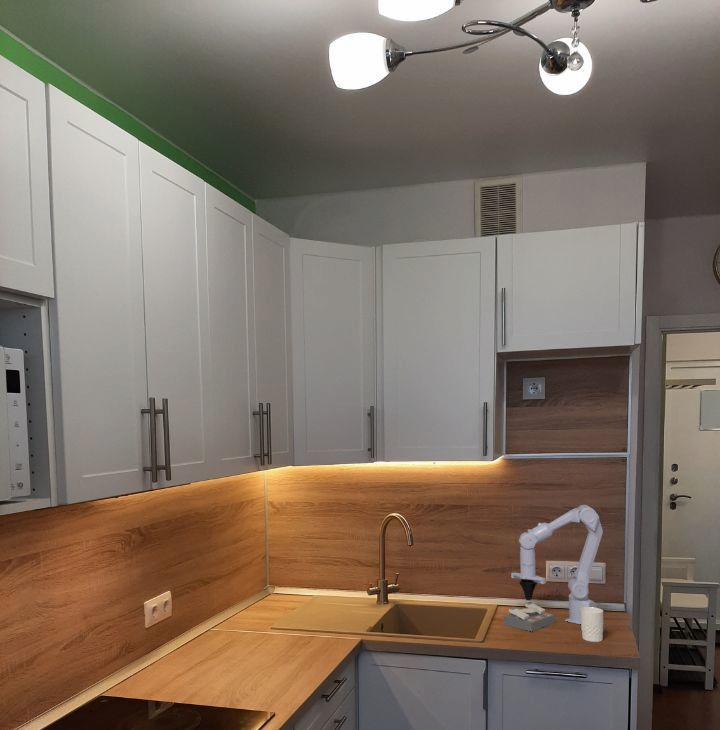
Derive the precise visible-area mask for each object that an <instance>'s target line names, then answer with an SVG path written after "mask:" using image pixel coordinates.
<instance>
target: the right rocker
mask: <svg viewBox="0 0 720 730" xmlns="http://www.w3.org/2000/svg"><path fill="white" fill-rule="evenodd" d="M525 607H526V608H537V611H536V612H537V613H539V614H543V613H546V609H545V608H543V607H541V606H539V605H537V604H535V603H534V602H532V601H529V602H526V603H525Z"/></svg>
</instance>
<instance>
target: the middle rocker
mask: <svg viewBox="0 0 720 730" xmlns="http://www.w3.org/2000/svg"><path fill="white" fill-rule="evenodd" d="M518 609H519V610H520V611H522V612H524V613H533V612H536V611H537V608H528V607H526V608H524V607H523V608H518Z"/></svg>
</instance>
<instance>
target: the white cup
mask: <svg viewBox="0 0 720 730" xmlns="http://www.w3.org/2000/svg"><path fill="white" fill-rule="evenodd" d="M580 619H581V625H580V626H581V627H580V628H581V638H582V639H583V640H585V641H586V642H593V643H599V642H602V641H603V638H604V636H603V635H604V634H603V633H604V609H601V608H600V607H599V608H598V607H596V608H595V607H582V608H580Z"/></svg>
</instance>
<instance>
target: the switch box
mask: <svg viewBox="0 0 720 730" xmlns="http://www.w3.org/2000/svg"><path fill="white" fill-rule="evenodd" d="M526 614H528V615H529V618H528V619H525V620H523V619H522V618H520V617H518V616H516V615H514V614H512V613H510V614H507V615H503V620H504V621H503V625H504V626H507V627H510V626H511V628H514V627H515V628H514V629H518V628H519V629H518V630H522V629H524V630H523V631H525V630H528V631H527V632H529V631H531V633H533V632H535V631H534V630H536V631H538V630H537V629H539V630H541V629H543V628H542V627H544V628H546V627H545V626H547V627H549V626H548V625H550V624H552V625H554V624H553V623H555V624H556V615H555V614H554V613H550V612H545V613H543V614H539V613H537V612H533V613H526ZM550 626H551V625H550ZM540 628H541V629H540ZM532 631H533V632H532Z"/></svg>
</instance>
